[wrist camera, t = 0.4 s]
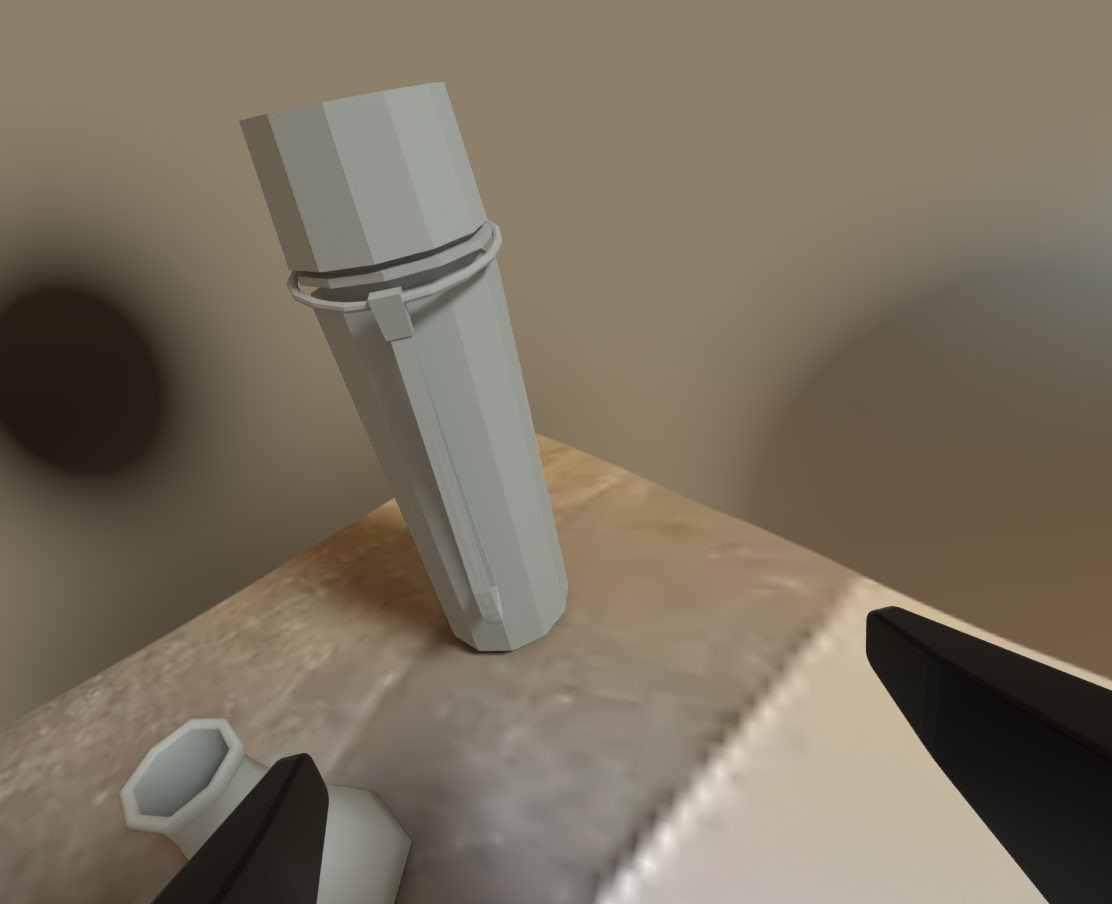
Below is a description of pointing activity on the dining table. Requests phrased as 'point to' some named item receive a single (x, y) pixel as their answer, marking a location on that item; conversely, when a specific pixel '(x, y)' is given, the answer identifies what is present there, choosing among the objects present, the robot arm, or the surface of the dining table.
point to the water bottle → (421, 342)
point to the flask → (224, 781)
